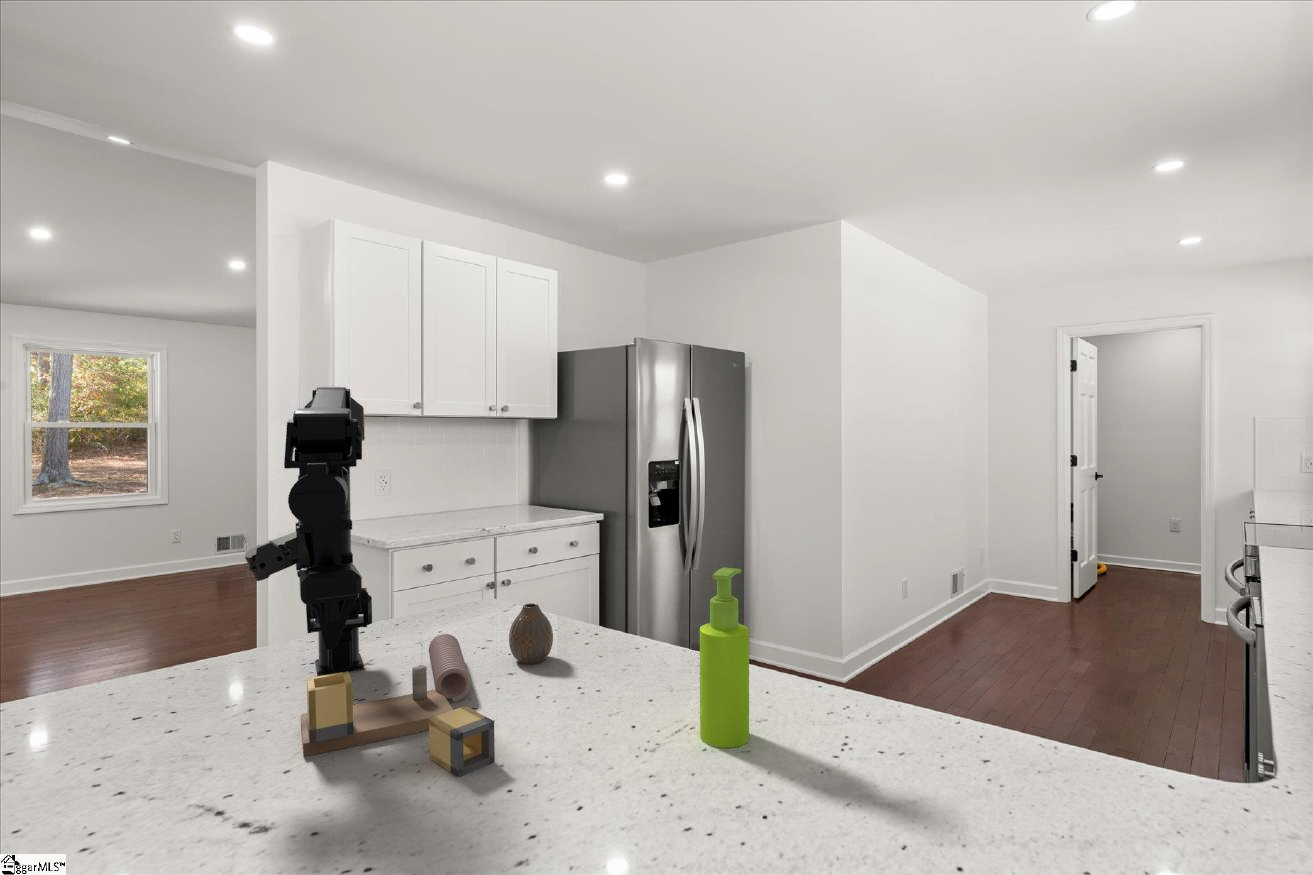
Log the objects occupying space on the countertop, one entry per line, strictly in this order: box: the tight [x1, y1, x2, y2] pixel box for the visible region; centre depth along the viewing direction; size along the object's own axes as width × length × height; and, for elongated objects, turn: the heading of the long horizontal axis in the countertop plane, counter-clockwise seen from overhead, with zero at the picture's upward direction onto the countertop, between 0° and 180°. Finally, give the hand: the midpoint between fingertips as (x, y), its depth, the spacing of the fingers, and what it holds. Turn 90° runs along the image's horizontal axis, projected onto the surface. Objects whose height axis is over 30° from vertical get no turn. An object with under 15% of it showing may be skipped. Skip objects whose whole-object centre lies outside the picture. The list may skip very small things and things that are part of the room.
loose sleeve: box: [306, 670, 354, 743], centre depth 83 cm, size 5×5×6 cm
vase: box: [508, 602, 554, 665], centre depth 111 cm, size 7×7×9 cm
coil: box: [428, 633, 472, 703], centre depth 103 cm, size 5×5×18 cm
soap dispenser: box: [699, 567, 750, 749], centre depth 84 cm, size 6×7×20 cm
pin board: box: [300, 665, 454, 758], centre depth 88 cm, size 9×17×6 cm, turn 119°
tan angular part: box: [428, 705, 496, 778], centre depth 79 cm, size 5×5×6 cm
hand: (327, 636), depth 87 cm, fingers open, 9 cm apart
